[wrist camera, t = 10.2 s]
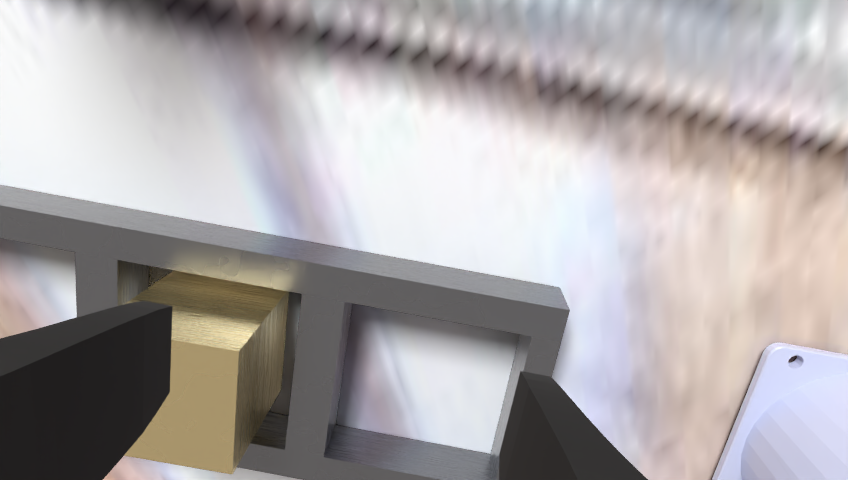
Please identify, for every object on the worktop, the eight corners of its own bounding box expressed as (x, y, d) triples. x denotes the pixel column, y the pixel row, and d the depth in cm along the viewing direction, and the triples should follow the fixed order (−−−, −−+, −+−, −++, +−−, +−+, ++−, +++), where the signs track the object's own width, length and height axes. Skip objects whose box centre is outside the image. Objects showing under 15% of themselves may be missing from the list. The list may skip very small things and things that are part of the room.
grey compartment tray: (559, 287, 20) (569, 310, 18) (508, 482, 23) (512, 519, 21) (-84, 169, 21) (-140, 179, 19) (-60, 374, 23) (-107, 401, 21)
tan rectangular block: (290, 288, 21) (238, 351, 16) (281, 388, 22) (232, 474, 18) (175, 268, 21) (91, 326, 16) (174, 370, 22) (96, 450, 18)
